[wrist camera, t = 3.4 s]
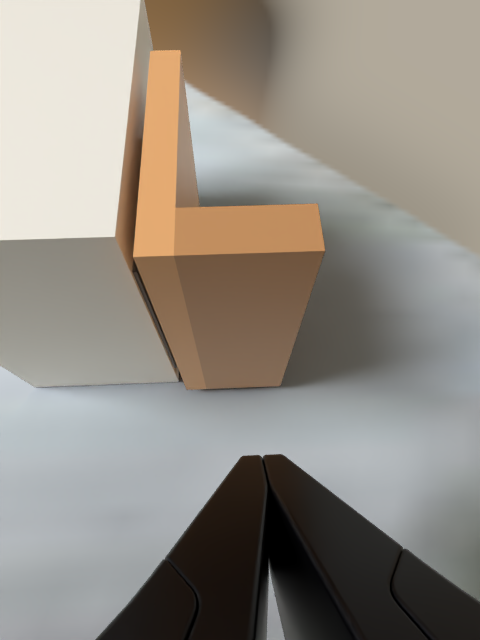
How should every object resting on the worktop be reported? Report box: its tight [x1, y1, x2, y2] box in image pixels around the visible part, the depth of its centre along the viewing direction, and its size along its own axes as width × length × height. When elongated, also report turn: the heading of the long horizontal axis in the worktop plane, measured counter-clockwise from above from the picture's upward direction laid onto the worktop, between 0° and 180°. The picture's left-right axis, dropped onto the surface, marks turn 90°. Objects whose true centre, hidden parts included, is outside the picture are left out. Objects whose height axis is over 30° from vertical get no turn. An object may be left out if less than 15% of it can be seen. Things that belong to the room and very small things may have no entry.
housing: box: [0, 0, 179, 387], centre depth 15 cm, size 10×6×10 cm, turn 2°
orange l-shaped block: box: [133, 50, 325, 390], centre depth 14 cm, size 6×4×10 cm, turn 2°
